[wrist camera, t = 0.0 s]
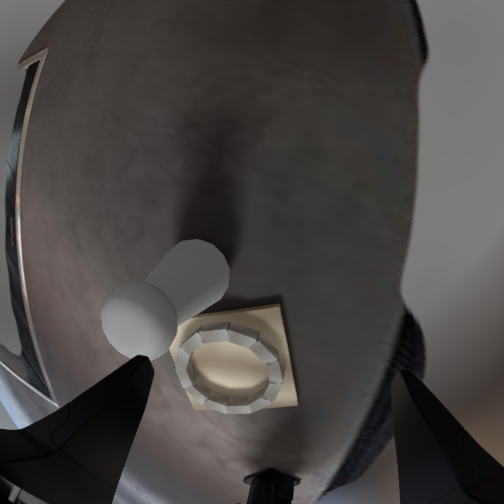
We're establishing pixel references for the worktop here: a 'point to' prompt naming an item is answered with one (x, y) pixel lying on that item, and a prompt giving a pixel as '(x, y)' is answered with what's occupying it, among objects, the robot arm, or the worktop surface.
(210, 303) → the salt shaker
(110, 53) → the worktop surface
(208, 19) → the worktop surface
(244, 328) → the ring stand
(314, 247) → the worktop surface
